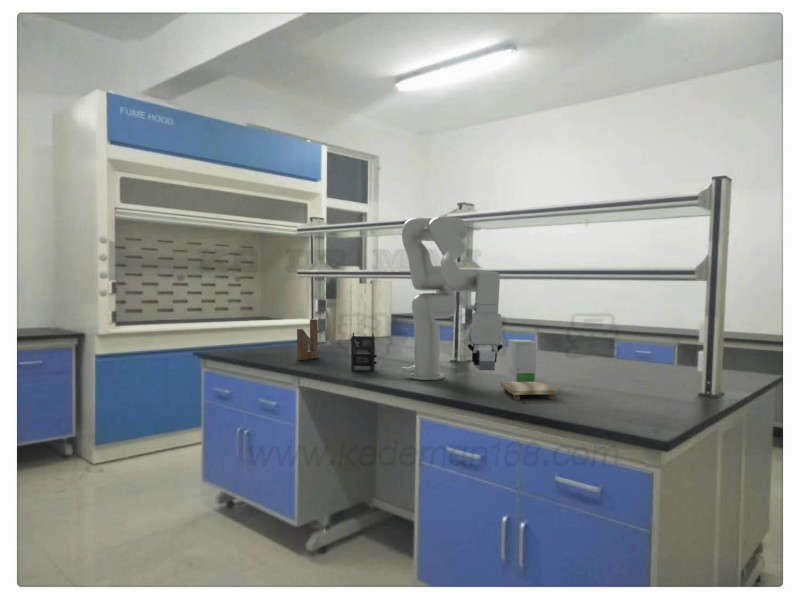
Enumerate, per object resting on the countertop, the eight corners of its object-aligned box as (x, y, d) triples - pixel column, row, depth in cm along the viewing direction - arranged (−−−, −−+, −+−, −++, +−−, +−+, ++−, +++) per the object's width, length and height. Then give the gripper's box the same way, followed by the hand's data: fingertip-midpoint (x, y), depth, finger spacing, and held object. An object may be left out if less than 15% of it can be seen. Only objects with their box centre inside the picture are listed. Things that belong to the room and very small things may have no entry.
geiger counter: (377, 369, 228) (377, 332, 227) (375, 371, 224) (375, 333, 223) (352, 368, 229) (352, 332, 228) (349, 370, 225) (350, 333, 224)
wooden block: (296, 360, 251) (296, 320, 251) (313, 357, 260) (313, 318, 259) (302, 360, 249) (302, 320, 248) (319, 358, 258) (319, 319, 257)
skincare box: (515, 386, 196) (515, 341, 195) (506, 382, 202) (507, 339, 201) (536, 384, 198) (537, 341, 197) (527, 381, 204) (528, 338, 204)
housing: (479, 370, 179) (480, 351, 178) (473, 364, 187) (474, 347, 186) (494, 370, 179) (495, 351, 179) (488, 365, 187) (489, 347, 187)
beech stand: (513, 400, 173) (513, 390, 173) (500, 391, 187) (500, 382, 187) (557, 399, 174) (557, 390, 174) (541, 390, 188) (541, 381, 188)
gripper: (463, 309, 177) (460, 366, 178) (515, 311, 179) (512, 367, 180) (458, 307, 184) (455, 362, 186) (508, 308, 186) (506, 362, 188)
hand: (484, 364), depth 183 cm, fingers closed on housing, 5 cm apart
